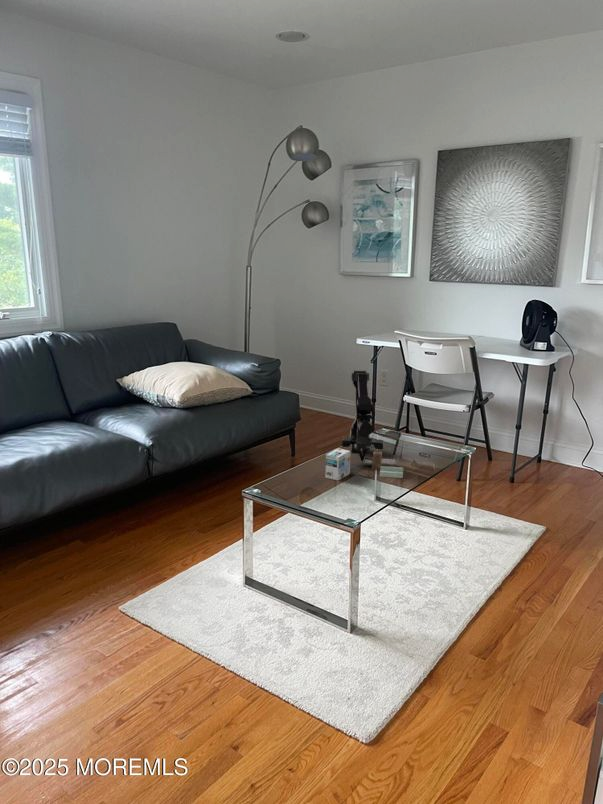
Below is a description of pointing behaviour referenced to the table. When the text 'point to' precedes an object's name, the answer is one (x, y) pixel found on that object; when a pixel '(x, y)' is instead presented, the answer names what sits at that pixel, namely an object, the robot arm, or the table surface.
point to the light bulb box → (338, 464)
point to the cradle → (391, 472)
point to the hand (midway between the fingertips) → (362, 461)
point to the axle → (382, 462)
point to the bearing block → (376, 460)
